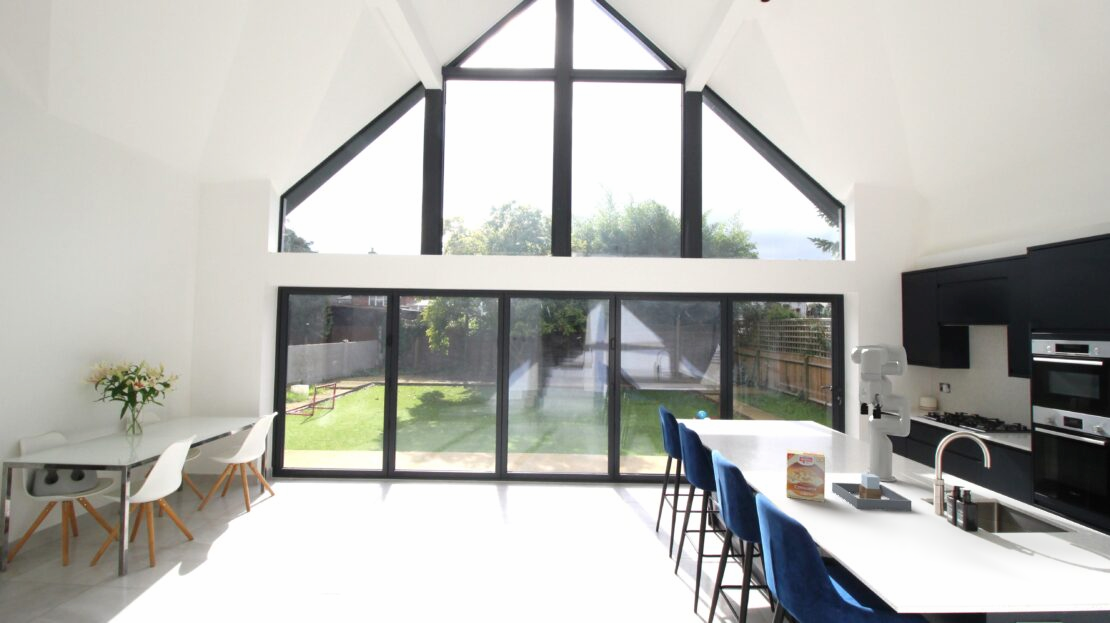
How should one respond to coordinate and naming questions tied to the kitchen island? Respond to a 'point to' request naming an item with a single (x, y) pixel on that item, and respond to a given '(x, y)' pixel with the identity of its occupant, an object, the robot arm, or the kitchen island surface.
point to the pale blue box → (870, 481)
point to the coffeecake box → (805, 475)
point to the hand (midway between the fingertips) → (870, 416)
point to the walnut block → (869, 493)
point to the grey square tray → (884, 504)
